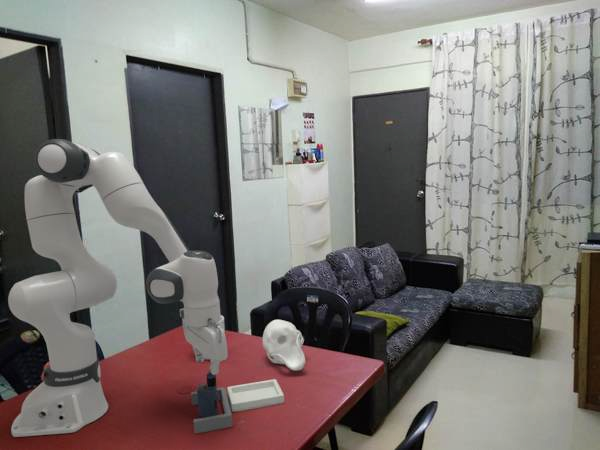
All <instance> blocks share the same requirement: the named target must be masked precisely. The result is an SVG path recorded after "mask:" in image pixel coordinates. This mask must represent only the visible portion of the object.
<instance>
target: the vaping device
mask: <svg viewBox="0 0 600 450" xmlns="http://www.w3.org/2000/svg"><path fill="white" fill-rule="evenodd" d="M217 388H218V387H217V374H214V375H213V374H212V373H210V370H208V373H207V374H206V382H200V383H199V384H198V388H197V391H196V392H197V396H198V404H197V408H198V414H199V416H200V417H203V418H205V417H211V416H216V415H219V414H218V413H219V409H218V401H217Z"/></svg>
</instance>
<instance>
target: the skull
mask: <svg viewBox="0 0 600 450" xmlns="http://www.w3.org/2000/svg"><path fill="white" fill-rule="evenodd" d="M304 341H305V338H304V337H303V335H302V332H301V331H300V330H298V329H297V328H296V326H295V325H294V324H293V323H292V322H290V321H286V320H282V319H274V320H272V321H270V322H269V323H268V324H267V325H266V326H265V329H264V331H263V334H262V347H263V349H264V350H265V351H266V355H267V357H268V359H269V360H270V362H271V363H273V364H276V365H277V364H278V365H279V364H280V365H285V366H286V367H287V368H288V369H290V370H291V371H301V370H302V369H303V368H304V366H305V364H306V357H305V354H304V352H303V349H302V346H303V344H304Z"/></svg>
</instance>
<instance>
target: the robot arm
mask: <svg viewBox="0 0 600 450" xmlns="http://www.w3.org/2000/svg"><path fill="white" fill-rule="evenodd" d="M33 159H34V166H35V167H36V170H37V171H38V173H39V175H36V176H35V177H32V178H30V179H28V181H27V182H26V183H25V184H24V185H25V186H24V209H25V216H26V217H25V219H26V223H27V228H28V232H29V233H28V234H29V239H30V242H31V248H32V249H33V251H35V253H36V254H37V255H39V256H41V257H43V258H47V259H51V260H54V261H55V262H56V263H58V265H59V266H60V269H61V270H59V271H54V272H48V273H42V274H37V275H33V276H30V277H28V278H24V279H23V280H21V281H18V282H16V283H14V284H13V286H12V288H11V289H10V291H9V293H8V298H7V301H8V303H7V304H8V308H9V311H11V313H12V314H13V316H15V317H16V318H17V319H19V320H21V322H24V323H28V324H30V325H31V326H32V327H34V328H35V329H37V330H38V331H39V332H40V334H41V335H42V336H43V339H44V341H45V343H46V348H47V354H48V360H49V361H48V362H47V363H46V364H45V365H44V366H43V370H42V373H41V377H40V378H41V381H42V382H41V383H40V384H38V386H36V387H35V389H33V390H32V391H30V393H29V394H28V395H27V396H26V398H25V400H24V401H23V402H22V404H21V409H20V410H21V411H20V413H19V414H18V415H17V416H16V417H15V418H14V420H13V421H12V424H11V429H10V430H11V431H10V433H11V434H10V435H11V436H12V437H13V438H19V437H21V438H22V437H33V436H34V437H35V436H44V435H47V436H48V435H59V434H71V433H75V432H78V431H79V430H81V429H82V428H83V427H85V426H87V425H88V424H91V423H93V422H95V421H96V420H98V419H100V418H101V417H102V416H104V414H106V413H107V411H108V409H109V403H108V402H107V399H106V397H105V394H104V391H103V387H102V382H101V378H102V373H101V365H100V360H99V359H100V358H99V357H98V356H97V355H98V353H97V346H96V345H97V344H96V338H95V333H94V331H93V329H92V328H91V327H90V326H89V325H87V324H83V323H79V322H74V321H72V320H71V317H70V316H71V313H73V312H77V311H81V310H84V309H89V308H92V307H95V306H96V307H97V306H98V305H100V304H103V303H105V302H107V301H109V300H111V299H112V298H113V297H114V296H115V295H116V291H117V288H118V279H117V277H116V274H115V273H114V271H113V270H112V269H111V268H110V267H109V266H107V265H106V264H103V263H101V262H99V261H98V260H96V259H95V258H94V256H92V255H91V254H90V252H89V251H88V250H87V248H86V246H85V245H84V242H83V240H82V237H81V234H80V230H79V226H78V222H77V218H76V211H75V207H74V203H73V197H74V196H73V195H74V194H75V193H77V194H79V193H80V194H81V193H82V192H84V191H85V190H86V191H87V190H88V189H91V187H94V188H95V190H96V191H97V193H98V195H99V197H100V199H101V202H102V203H103V205H104V207H105V209H106V211H107V214H108V215H109V216H110V217H111V219H113V220H114V222H115V223H117V224H119V225H121V226H122V227H126V228H129V229H135V230H139V231H141V232H144V233H146V234H148V235H149V236H151V237H152V238H153V239H154V240H155V242H156V243H157V244H158V246H159V248H160V249H161V251H162V253H163V254H164V256H165V257H166V259H167V260H168V263H166V264H163V265H161V266H158V267H156V268H154V269H153V270H151V271H150V272H149V274H148V275H147V277H146V281H145V284H146V290H147V293H148V295H149V297H151V298H150V299H152V300H153V301H154V302H155V303H158V304H161V305H165V304H166V305H167V304H171V303H177V302H182V303H183V308H180V309H179V316H180V318H182V321H181V322H182V328H183V334H184V338H185V340H186V342H187V343H189V344H190V345H191V346H192V350H193V351H194V356H195V361H196V362H197V363H199V364H200V363H203V362H204V361H205V359H204V355H205V356H207V357H208V358H209V359H210V360H209V361H210V365H209V371H210V373H212V374H213V375H214V374H216V375H217V374H219V372H220V371H219V370H220V369H219V367H220V363H221V362H222V361H224V360H227V359H228V355H229V352H228V344H227V338H226V333H224V330H223V329H222V328H221V327H219V324H218V322H219V321H220V320H221V315H222V314H221V306H220V305H221V304H220V303H221V302H220V298H219V295H218V289H219V280H218V279H219V278H218V272H217V271H218V270H217V266H216V262H215V259H214V257H213V255H212V254H211V253H209V252H208V251H203V250H190V249H189V247H188V245H187V244H186V242H185V241H184V240H183V238H182V237H181V235H180V233H179V232H178V230H177V229H176V227H175V226H174V224H173V222H172V221H171V219H170V218H169V217H168V215H167V214H166V213H165V211H163V209H162V208H160V206H159V205H158V204H157V203H156V201H155V200H154V198H153V197H152V195H151V194H150V192H149V191H148V189H147V187H146V185H145V184H144V181H143V180H142V177H141V176H140V174H139V172H138V171H137V169H136V168H135V167H134V165H133V163H132V162H131V161H130V160H129V159H128V158H127V156H126V155H124V154H123V153H121V152H119V151H106V152H103V153H99V152H98V151H96V150H94V149H93V148H91V147H88V146H86V145H84V144H82V143H79V142H72V141H70V140H69V139H68V140H67V139H62V138H52V139H48V140H45V141H44V142H42V143H41V144H40V145H39V146H38V147H37V149H36V150H35V153H34V158H33ZM203 354H204V355H203Z"/></svg>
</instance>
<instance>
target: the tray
mask: <svg viewBox="0 0 600 450" xmlns="http://www.w3.org/2000/svg"><path fill="white" fill-rule="evenodd" d="M226 387H227V390H226V391H227V398H228V402H229V406H230V410H231V413H236V412H242V411H247V410H253V409H258V408H264V407H270V406H275V405H281V404H285V395H284V392H283V390H282V389H281V386H280V385H279V383H278V381H277V379H276V378H274V379H268V380H262V381H256V382H249V383H243V384H238V385H237V384H235V385H232V386H226Z"/></svg>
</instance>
